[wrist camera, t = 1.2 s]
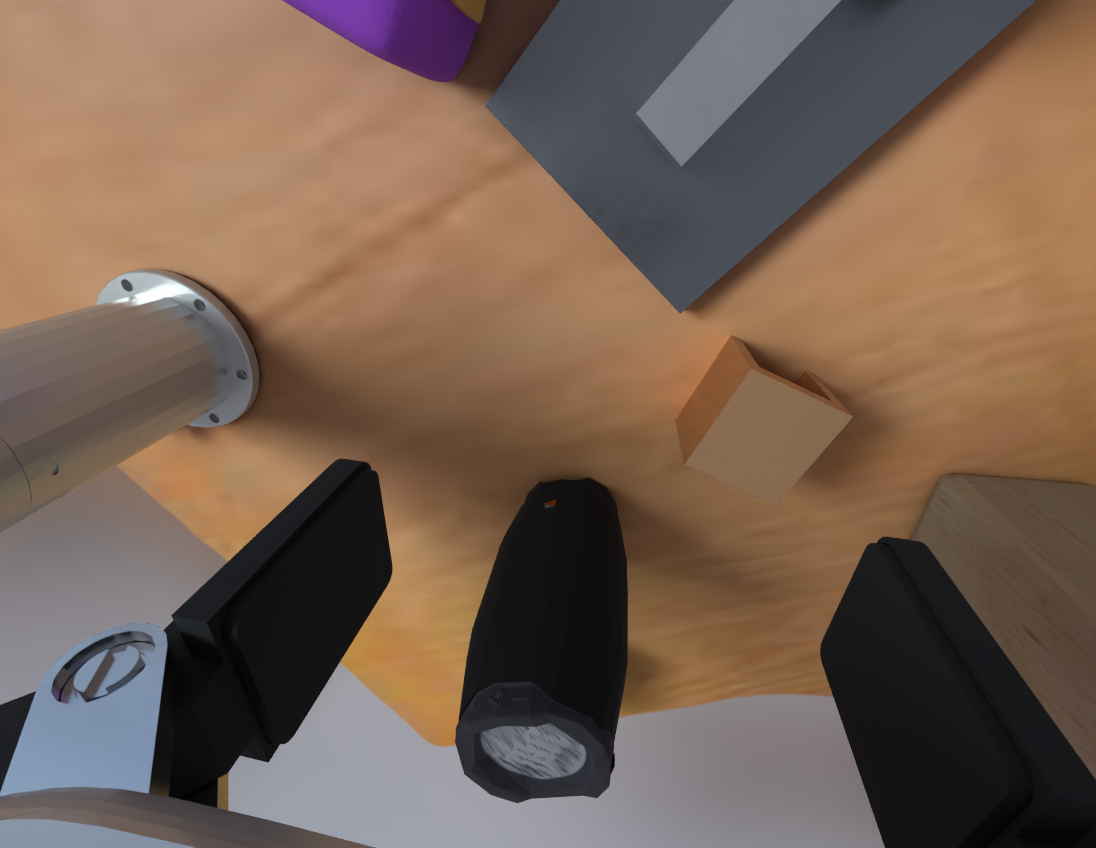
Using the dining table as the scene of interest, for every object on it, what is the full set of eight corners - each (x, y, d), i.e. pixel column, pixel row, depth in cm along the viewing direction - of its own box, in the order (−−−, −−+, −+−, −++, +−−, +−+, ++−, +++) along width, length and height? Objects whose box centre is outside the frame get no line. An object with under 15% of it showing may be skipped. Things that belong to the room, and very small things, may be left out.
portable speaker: (522, 457, 38) (438, 690, 21) (639, 481, 38) (650, 739, 21) (510, 539, 42) (432, 789, 25) (616, 561, 42) (609, 832, 25)
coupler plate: (677, 307, 31) (691, 344, 25) (492, 109, 28) (450, 90, 21) (1063, -36, 22) (1251, -123, 15) (858, -406, 18) (989, -727, 12)
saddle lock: (753, 455, 35) (775, 505, 30) (675, 420, 35) (684, 464, 30) (816, 375, 32) (853, 416, 27) (730, 335, 32) (751, 368, 26)
